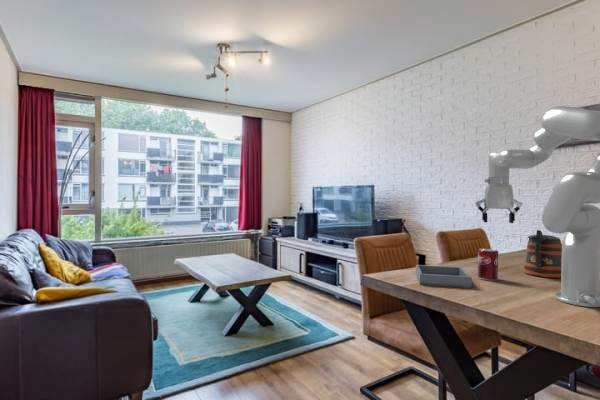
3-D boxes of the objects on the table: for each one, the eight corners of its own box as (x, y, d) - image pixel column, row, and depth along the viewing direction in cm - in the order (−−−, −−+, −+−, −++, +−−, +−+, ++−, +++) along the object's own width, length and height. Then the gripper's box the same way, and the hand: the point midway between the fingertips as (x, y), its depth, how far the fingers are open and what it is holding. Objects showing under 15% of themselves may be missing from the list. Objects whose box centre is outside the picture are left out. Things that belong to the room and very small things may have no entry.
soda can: (492, 277, 140) (493, 248, 140) (501, 281, 133) (501, 251, 133) (474, 276, 141) (475, 248, 141) (482, 280, 134) (482, 251, 134)
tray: (471, 288, 123) (471, 277, 123) (419, 284, 128) (419, 274, 128) (460, 276, 141) (460, 267, 141) (415, 274, 145) (415, 264, 145)
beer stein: (562, 282, 132) (563, 232, 132) (518, 276, 142) (519, 229, 141) (566, 274, 146) (567, 228, 146) (526, 269, 156) (527, 226, 155)
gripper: (477, 181, 139) (477, 222, 140) (525, 181, 135) (525, 223, 135) (474, 182, 147) (473, 221, 147) (519, 182, 142) (518, 222, 142)
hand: (498, 222), depth 141 cm, fingers open, 9 cm apart
